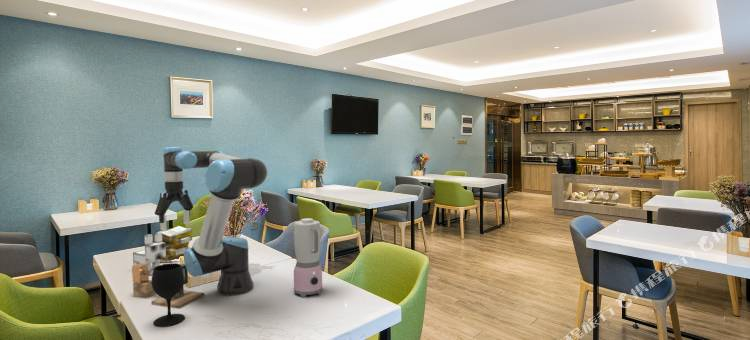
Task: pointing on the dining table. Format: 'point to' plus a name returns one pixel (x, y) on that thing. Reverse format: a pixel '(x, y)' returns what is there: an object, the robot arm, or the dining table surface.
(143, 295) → the rest block
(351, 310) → the dining table surface
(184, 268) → the eye post
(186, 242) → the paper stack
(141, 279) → the hook
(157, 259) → the toy llama
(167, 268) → the wine glass
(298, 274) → the blender
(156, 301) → the base board
